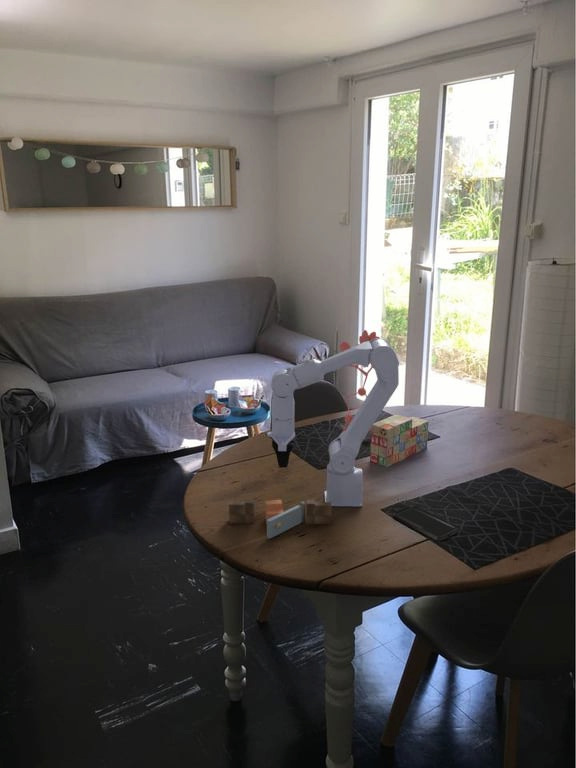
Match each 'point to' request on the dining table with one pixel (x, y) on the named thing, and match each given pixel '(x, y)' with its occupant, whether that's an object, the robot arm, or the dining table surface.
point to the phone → (425, 522)
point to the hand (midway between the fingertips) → (283, 466)
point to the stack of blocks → (397, 439)
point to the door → (286, 520)
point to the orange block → (272, 508)
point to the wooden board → (245, 512)
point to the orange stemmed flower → (361, 391)
